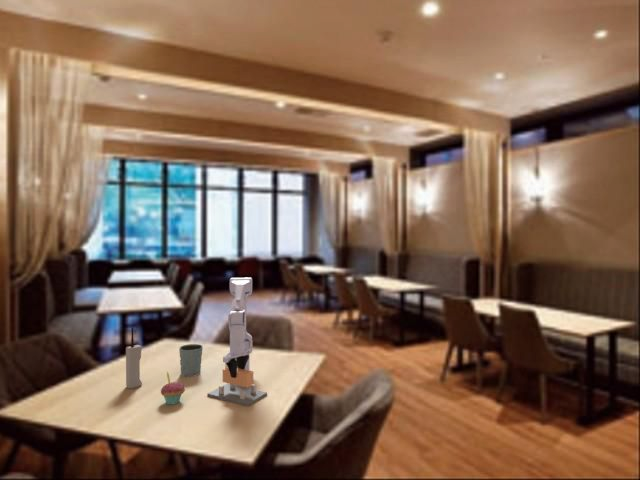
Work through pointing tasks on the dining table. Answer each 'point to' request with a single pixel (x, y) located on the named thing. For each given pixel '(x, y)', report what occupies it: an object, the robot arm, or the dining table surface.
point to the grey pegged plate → (238, 394)
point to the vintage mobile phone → (133, 365)
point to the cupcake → (172, 391)
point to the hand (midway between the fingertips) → (237, 375)
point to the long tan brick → (238, 377)
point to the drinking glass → (190, 359)
